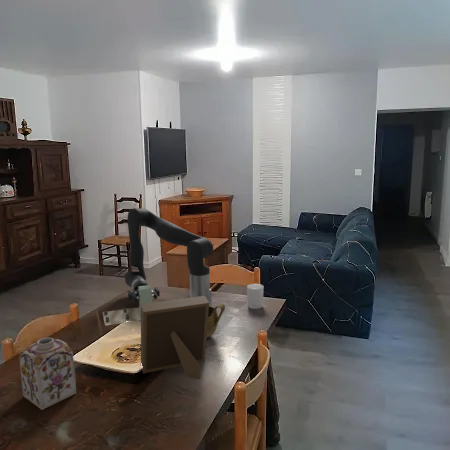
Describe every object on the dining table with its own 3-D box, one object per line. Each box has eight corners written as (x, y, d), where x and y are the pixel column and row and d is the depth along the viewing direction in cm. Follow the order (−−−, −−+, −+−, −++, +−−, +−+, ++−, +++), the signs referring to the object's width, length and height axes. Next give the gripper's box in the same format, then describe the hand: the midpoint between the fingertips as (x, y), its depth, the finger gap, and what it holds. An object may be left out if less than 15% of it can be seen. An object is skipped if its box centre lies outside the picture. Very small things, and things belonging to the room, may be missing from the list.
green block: (150, 310, 197) (149, 285, 195) (152, 314, 192) (151, 288, 190) (139, 311, 195) (138, 286, 193) (141, 315, 191) (140, 289, 189)
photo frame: (140, 367, 148) (137, 298, 144) (200, 356, 156) (199, 290, 151) (149, 389, 135) (146, 314, 130) (214, 376, 142) (214, 305, 138)
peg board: (155, 308, 203) (154, 301, 203) (161, 320, 188) (161, 313, 188) (102, 315, 195) (102, 308, 195) (105, 328, 181) (104, 321, 180)
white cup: (245, 308, 202) (245, 288, 200) (249, 302, 209) (249, 283, 207) (261, 310, 199) (261, 289, 198) (265, 304, 207) (265, 284, 205)
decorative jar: (57, 381, 140) (53, 329, 137) (77, 393, 133) (73, 339, 130) (21, 397, 131) (15, 342, 128) (40, 411, 124) (35, 353, 121)
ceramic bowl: (231, 333, 175) (231, 298, 172) (215, 351, 160) (214, 313, 157) (182, 325, 183) (181, 291, 181) (162, 342, 168) (161, 305, 165)
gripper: (124, 281, 203) (129, 292, 188) (154, 278, 208) (161, 288, 193) (125, 297, 204) (130, 308, 189) (155, 293, 209) (162, 304, 194)
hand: (146, 298), depth 191 cm, fingers open, 8 cm apart
